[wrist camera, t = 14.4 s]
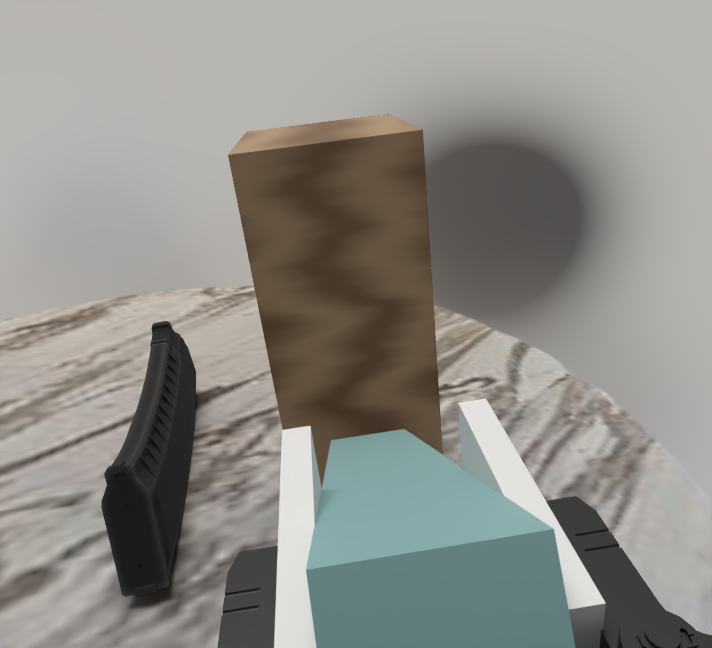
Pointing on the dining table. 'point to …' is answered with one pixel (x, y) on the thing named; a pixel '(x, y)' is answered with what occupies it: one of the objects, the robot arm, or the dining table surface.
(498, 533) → the teal square bar
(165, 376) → the magazine
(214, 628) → the dining table surface
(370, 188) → the stand
